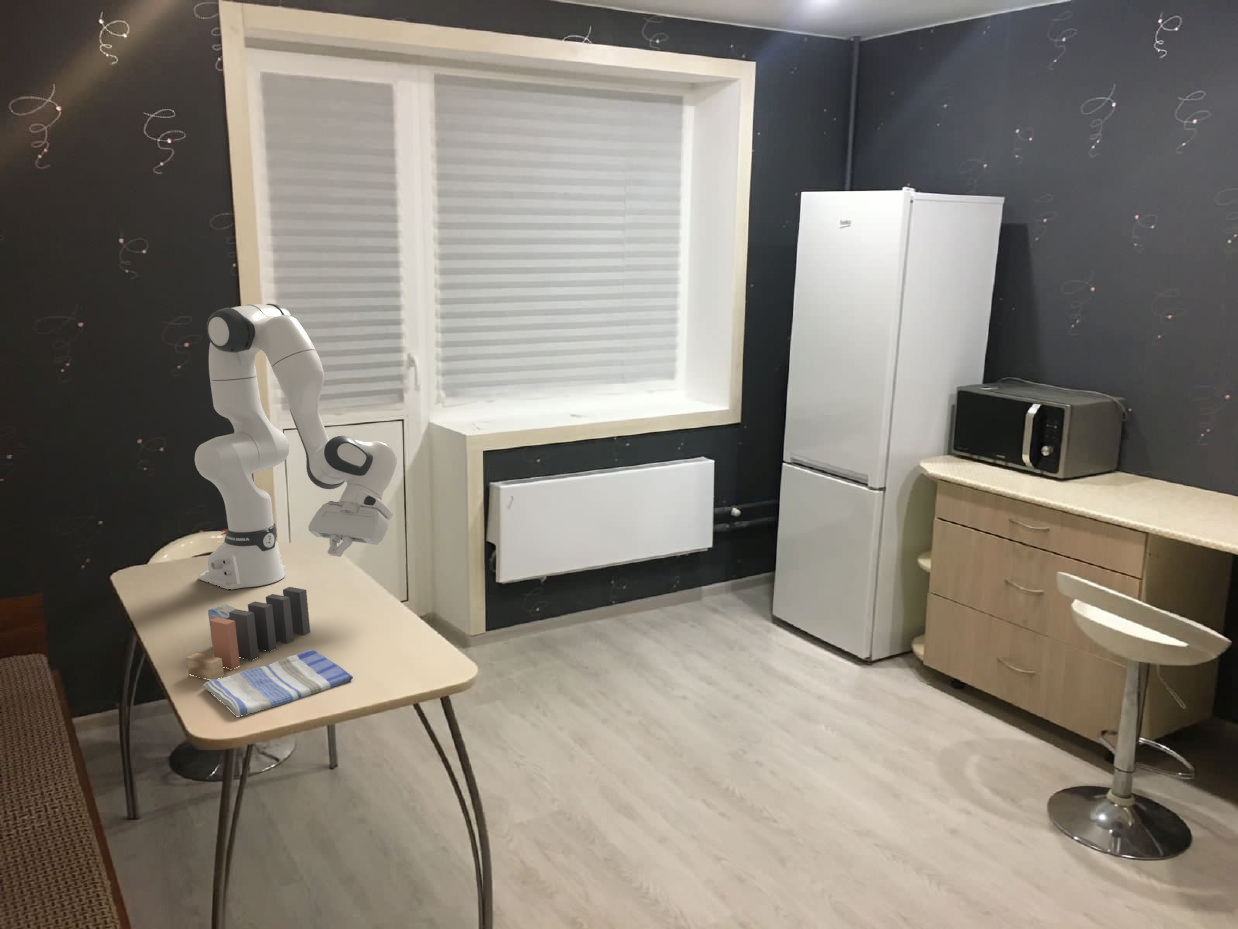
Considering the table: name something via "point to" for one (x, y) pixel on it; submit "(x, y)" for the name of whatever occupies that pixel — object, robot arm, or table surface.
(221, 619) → the domino
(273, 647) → the domino
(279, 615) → the domino
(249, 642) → the domino
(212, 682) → the dish towel
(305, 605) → the domino
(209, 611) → the medicine box
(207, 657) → the end block
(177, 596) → the table surface
